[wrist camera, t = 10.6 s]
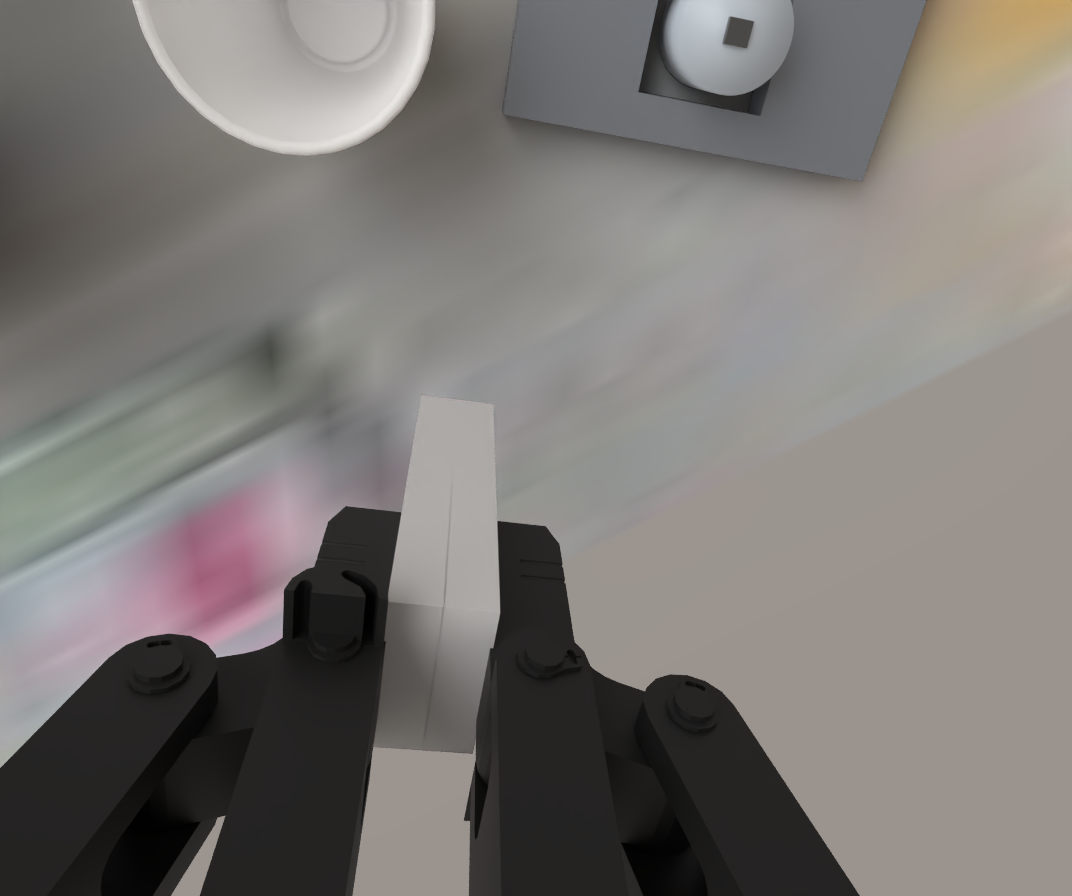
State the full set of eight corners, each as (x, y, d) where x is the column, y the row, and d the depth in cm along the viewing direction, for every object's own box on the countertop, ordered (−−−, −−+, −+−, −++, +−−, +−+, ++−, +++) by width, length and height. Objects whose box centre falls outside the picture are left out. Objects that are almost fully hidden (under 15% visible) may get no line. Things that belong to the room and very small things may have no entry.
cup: (224, -153, 32) (113, -234, 22) (461, -98, 33) (453, -153, 24) (226, 104, 37) (134, 128, 27) (434, 142, 38) (418, 179, 28)
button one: (647, 79, 37) (668, 84, 33) (673, -38, 34) (699, -48, 30) (742, 97, 37) (775, 105, 33) (773, -16, 35) (813, -23, 31)
